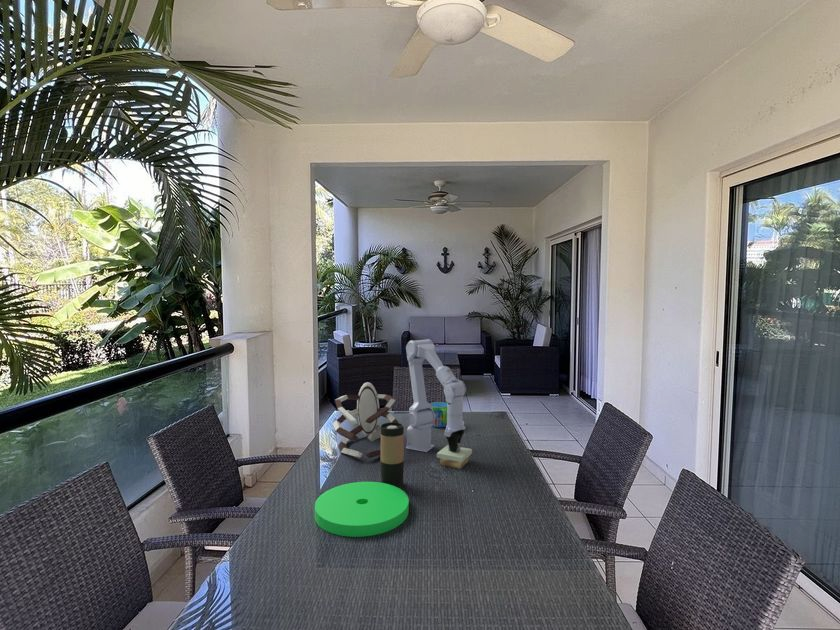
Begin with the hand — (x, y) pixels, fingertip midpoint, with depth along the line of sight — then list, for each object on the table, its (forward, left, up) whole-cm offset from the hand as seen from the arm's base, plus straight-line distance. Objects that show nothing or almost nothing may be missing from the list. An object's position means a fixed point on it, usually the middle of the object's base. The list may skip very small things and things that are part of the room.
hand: (454, 450), depth 168 cm
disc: (-10, -46, -6) cm, 47 cm away
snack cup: (-24, +40, -5) cm, 47 cm away
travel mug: (-11, -27, -5) cm, 30 cm away
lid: (0, 0, -1) cm, 1 cm away
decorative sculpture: (-39, 0, -5) cm, 39 cm away
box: (0, 0, -5) cm, 5 cm away
